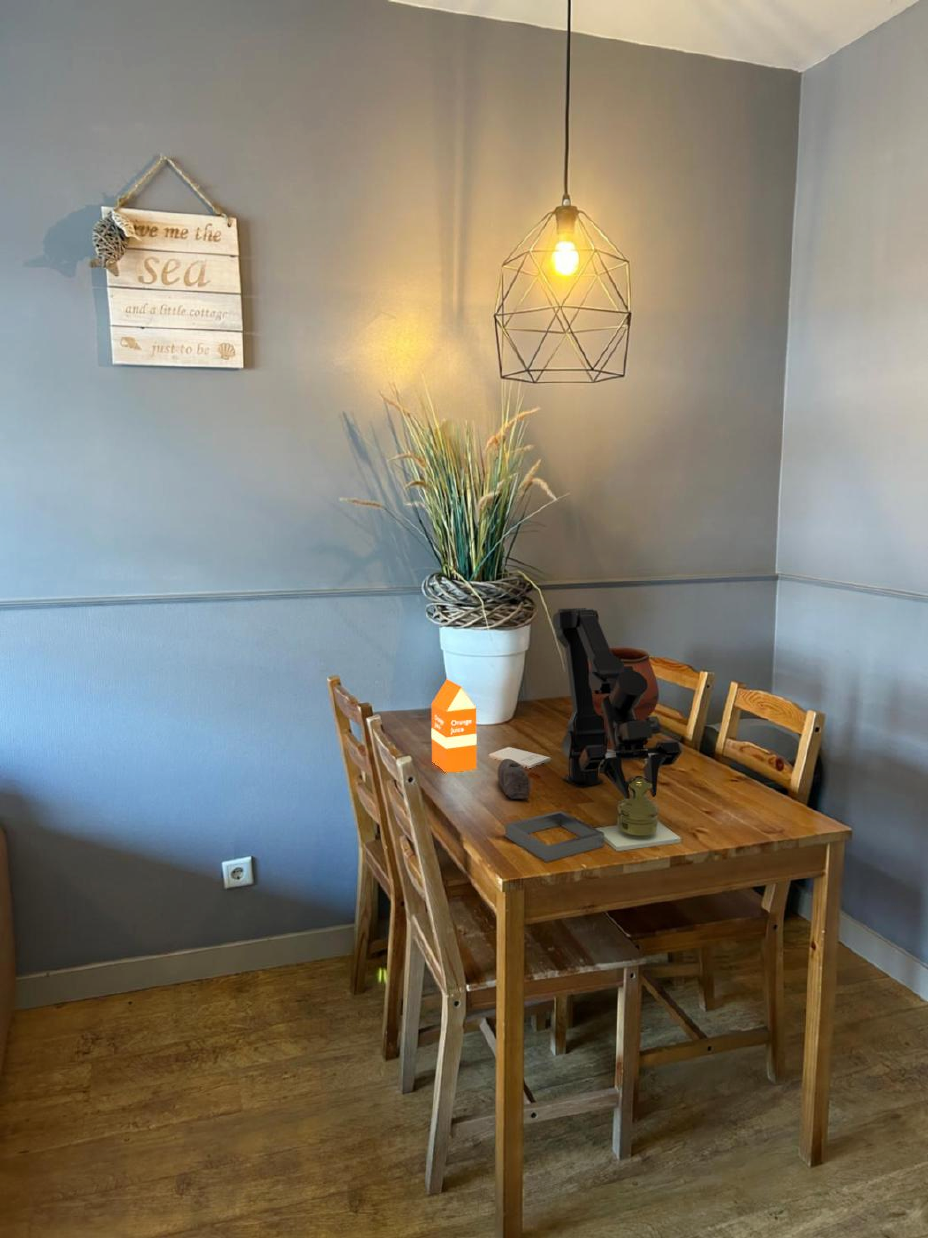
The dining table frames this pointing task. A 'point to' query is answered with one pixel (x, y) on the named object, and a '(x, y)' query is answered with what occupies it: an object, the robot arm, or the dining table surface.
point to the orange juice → (453, 729)
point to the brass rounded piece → (638, 809)
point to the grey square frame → (585, 842)
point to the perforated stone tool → (513, 779)
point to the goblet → (642, 666)
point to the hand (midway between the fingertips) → (641, 797)
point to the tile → (638, 838)
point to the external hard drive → (520, 757)
